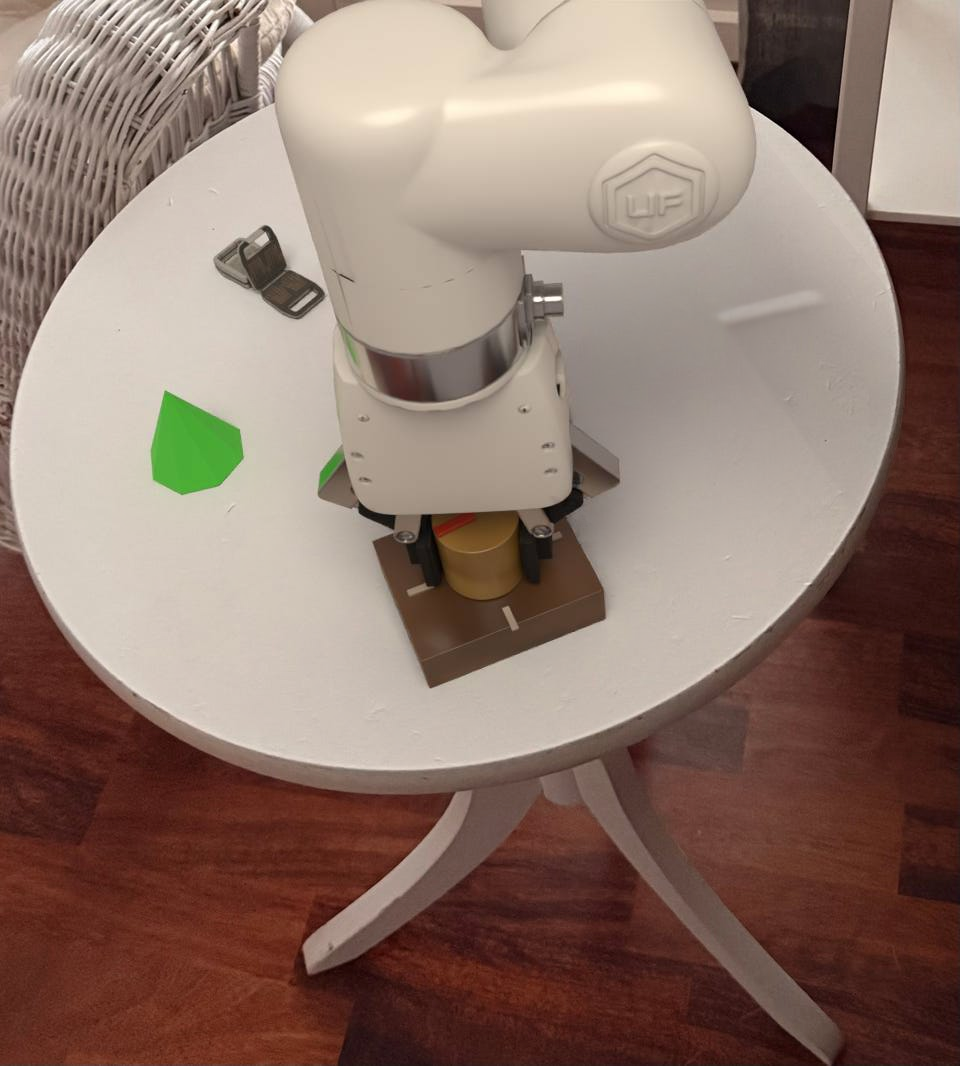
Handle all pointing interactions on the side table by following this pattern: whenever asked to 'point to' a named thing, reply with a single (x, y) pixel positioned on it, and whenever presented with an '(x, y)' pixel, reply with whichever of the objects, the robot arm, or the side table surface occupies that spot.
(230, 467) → the gemstone
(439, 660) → the panel
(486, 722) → the side table surface
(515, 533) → the knob
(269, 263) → the strap clip
